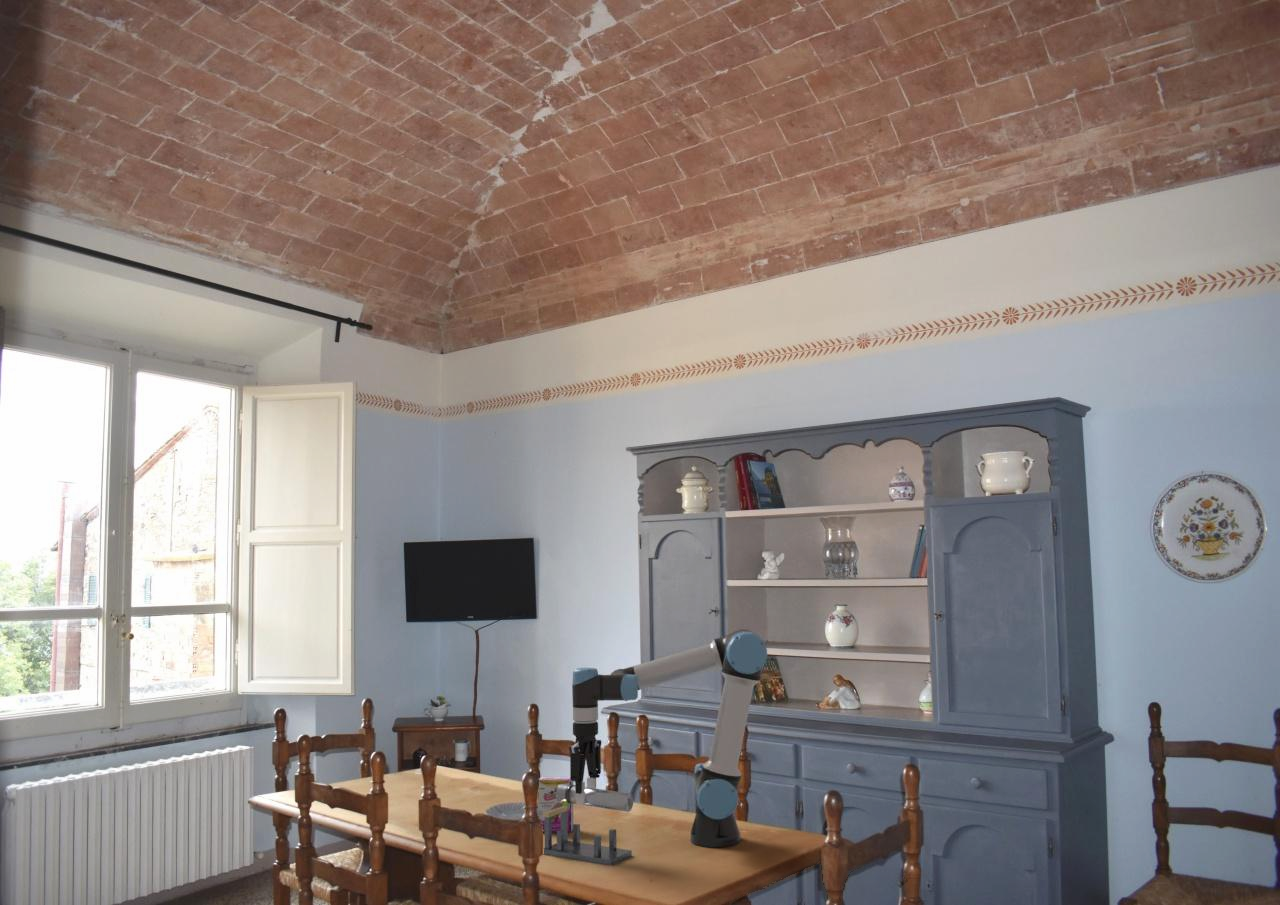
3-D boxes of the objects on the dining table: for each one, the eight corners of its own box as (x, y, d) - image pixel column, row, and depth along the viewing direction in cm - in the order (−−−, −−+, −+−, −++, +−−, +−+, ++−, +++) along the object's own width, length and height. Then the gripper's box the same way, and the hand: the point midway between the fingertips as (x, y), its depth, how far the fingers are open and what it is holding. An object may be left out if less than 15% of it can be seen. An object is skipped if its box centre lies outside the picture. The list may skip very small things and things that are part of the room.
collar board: (631, 855, 294) (631, 814, 296) (610, 865, 285) (610, 822, 286) (564, 845, 307) (564, 805, 308) (542, 854, 298) (542, 813, 299)
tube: (631, 813, 291) (634, 794, 293) (622, 811, 287) (625, 792, 289) (564, 802, 304) (567, 784, 306) (554, 800, 300) (557, 782, 302)
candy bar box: (536, 833, 322) (536, 779, 324) (539, 829, 327) (539, 776, 329) (571, 833, 321) (571, 779, 323) (574, 829, 326) (573, 776, 328)
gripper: (592, 716, 310) (592, 795, 307) (557, 724, 295) (557, 807, 292) (612, 718, 306) (613, 797, 303) (578, 726, 291) (578, 810, 288)
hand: (586, 802), depth 298 cm, fingers closed on tube, 5 cm apart
